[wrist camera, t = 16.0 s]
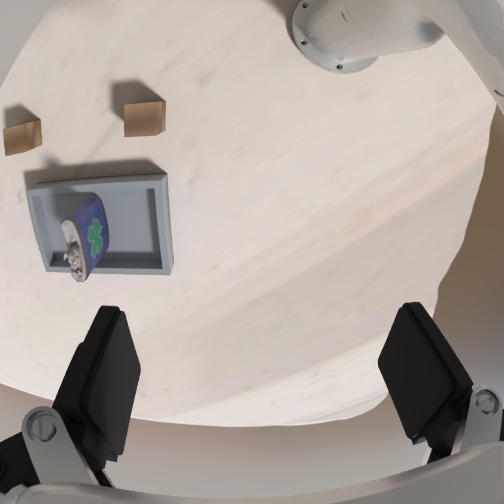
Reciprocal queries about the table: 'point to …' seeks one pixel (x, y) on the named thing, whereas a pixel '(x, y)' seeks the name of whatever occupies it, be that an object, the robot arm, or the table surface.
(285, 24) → the table surface
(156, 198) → the tray
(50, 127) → the table surface
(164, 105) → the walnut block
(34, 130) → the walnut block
